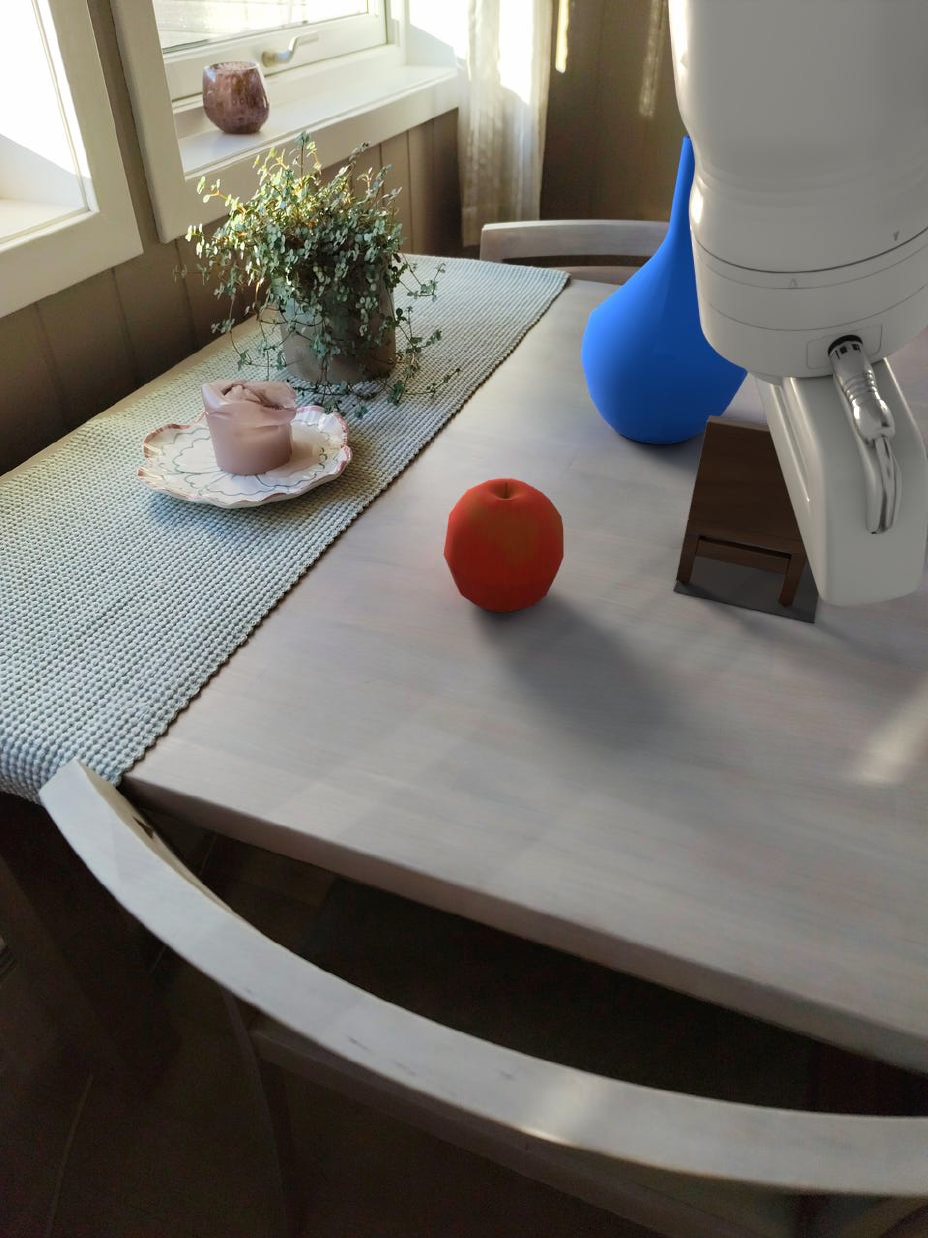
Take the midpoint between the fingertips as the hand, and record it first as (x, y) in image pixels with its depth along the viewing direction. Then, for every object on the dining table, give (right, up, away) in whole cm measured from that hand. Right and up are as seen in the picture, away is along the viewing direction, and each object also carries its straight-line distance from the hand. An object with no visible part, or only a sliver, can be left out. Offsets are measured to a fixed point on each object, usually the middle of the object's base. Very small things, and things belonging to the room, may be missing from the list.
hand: (811, 503), depth 44 cm
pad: (+9, -1, +36) cm, 37 cm away
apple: (-14, -4, +33) cm, 36 cm away
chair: (+8, -1, +36) cm, 37 cm away
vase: (+5, +17, +57) cm, 60 cm away
